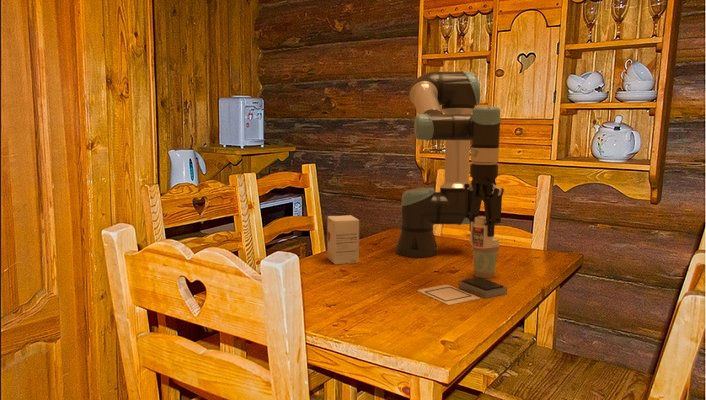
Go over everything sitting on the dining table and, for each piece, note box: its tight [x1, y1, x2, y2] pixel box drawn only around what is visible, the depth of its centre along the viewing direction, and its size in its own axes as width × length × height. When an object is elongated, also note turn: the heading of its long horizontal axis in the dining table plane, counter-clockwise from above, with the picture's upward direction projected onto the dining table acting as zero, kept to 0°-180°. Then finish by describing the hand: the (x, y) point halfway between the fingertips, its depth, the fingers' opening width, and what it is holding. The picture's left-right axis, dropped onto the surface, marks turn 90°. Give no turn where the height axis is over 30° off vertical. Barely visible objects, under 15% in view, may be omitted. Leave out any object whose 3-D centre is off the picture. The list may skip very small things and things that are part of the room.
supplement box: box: [326, 214, 360, 265], centre depth 190 cm, size 9×9×15 cm
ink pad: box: [458, 277, 508, 299], centre depth 159 cm, size 11×8×2 cm
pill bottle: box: [471, 216, 486, 248], centre depth 157 cm, size 5×5×8 cm
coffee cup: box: [472, 236, 501, 279], centre depth 173 cm, size 9×9×12 cm
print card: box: [416, 284, 481, 306], centre depth 156 cm, size 14×11×1 cm
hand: (480, 245), depth 157 cm, fingers closed on pill bottle, 5 cm apart
